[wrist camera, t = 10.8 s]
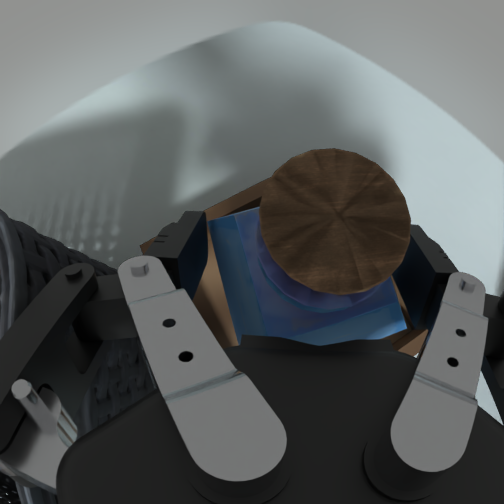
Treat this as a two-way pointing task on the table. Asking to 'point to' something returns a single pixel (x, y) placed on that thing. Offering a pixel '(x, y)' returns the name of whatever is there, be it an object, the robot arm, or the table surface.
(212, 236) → the perfume bottle
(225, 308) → the tray
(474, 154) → the table surface
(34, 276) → the storage bin
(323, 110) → the table surface
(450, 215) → the table surface
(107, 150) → the table surface
